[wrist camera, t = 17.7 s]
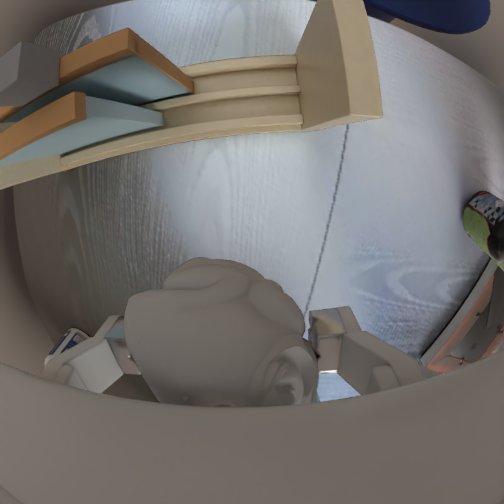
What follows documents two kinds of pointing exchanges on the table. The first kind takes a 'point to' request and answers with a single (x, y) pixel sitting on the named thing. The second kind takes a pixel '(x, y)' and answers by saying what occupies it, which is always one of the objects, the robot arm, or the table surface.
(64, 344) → the pill bottle
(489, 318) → the picture frame
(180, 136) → the window frame
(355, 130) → the table surface
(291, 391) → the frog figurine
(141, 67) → the window pane
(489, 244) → the beverage can
